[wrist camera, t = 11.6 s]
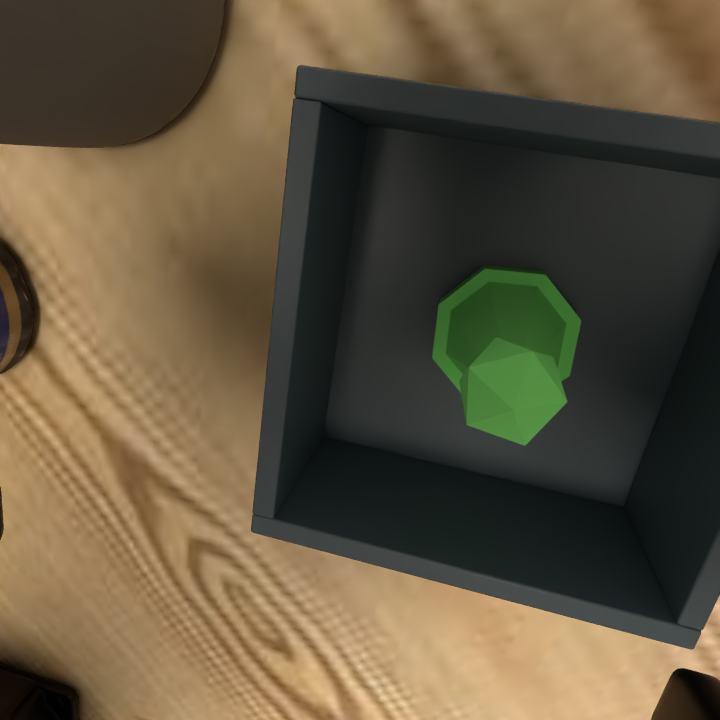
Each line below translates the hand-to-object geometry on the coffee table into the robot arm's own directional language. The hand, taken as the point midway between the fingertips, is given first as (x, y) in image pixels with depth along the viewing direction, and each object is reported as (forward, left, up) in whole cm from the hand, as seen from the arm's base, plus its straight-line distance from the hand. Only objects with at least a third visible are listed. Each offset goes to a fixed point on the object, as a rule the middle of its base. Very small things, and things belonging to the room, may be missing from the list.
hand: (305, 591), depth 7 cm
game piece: (+1, -3, -11) cm, 12 cm away
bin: (+1, -3, -12) cm, 12 cm away
